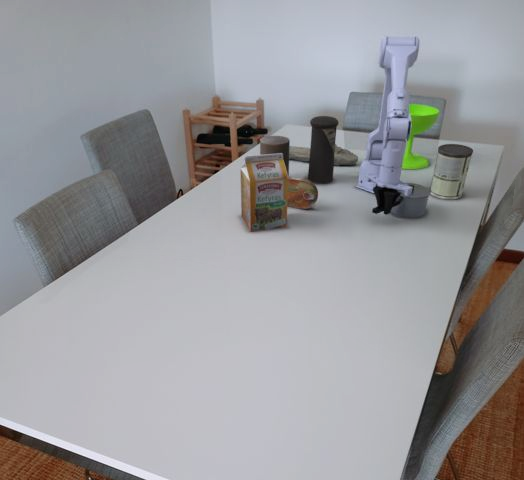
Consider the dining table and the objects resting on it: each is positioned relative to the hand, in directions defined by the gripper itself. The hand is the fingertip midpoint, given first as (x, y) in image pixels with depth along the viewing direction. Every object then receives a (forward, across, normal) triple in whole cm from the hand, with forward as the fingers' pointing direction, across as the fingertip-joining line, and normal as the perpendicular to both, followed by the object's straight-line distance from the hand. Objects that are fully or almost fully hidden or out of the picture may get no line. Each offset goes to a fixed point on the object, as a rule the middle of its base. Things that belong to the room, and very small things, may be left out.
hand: (383, 212), depth 146 cm
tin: (+3, -25, -12) cm, 28 cm away
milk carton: (+3, -22, -27) cm, 35 cm away
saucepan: (+3, 0, +6) cm, 7 cm away
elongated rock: (+3, -52, +23) cm, 57 cm away
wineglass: (+3, -27, +48) cm, 55 cm away
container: (+3, -35, +10) cm, 37 cm away
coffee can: (+3, 0, +32) cm, 32 cm away
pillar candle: (+3, -44, -3) cm, 44 cm away
